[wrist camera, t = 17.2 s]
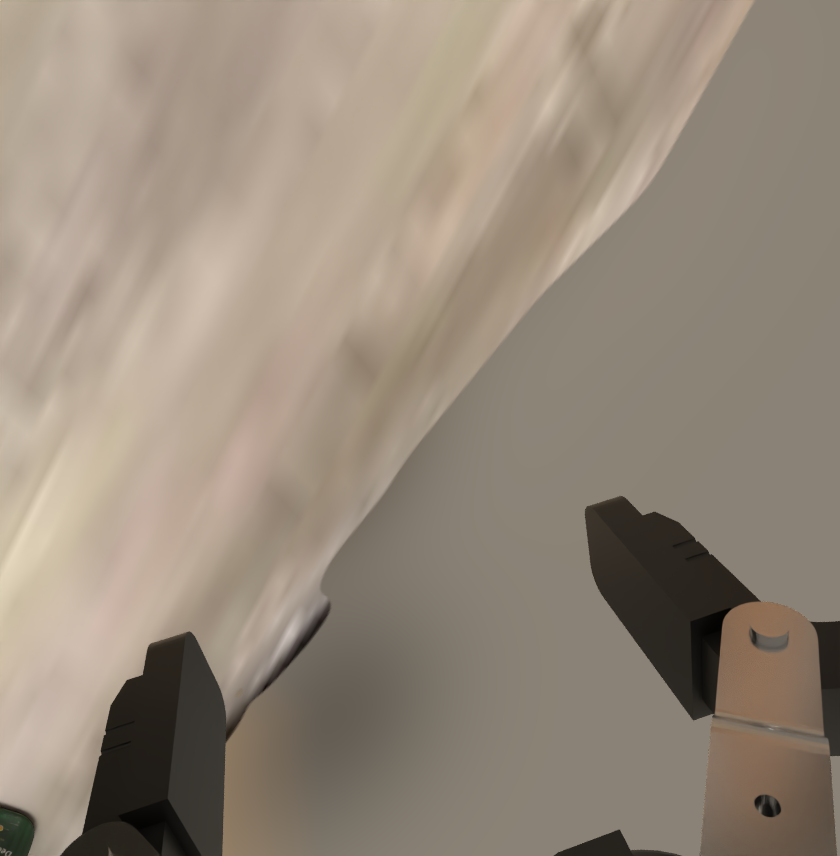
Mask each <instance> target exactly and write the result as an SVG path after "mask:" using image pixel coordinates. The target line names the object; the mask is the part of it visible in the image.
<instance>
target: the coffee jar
mask: <svg viewBox="0 0 840 856" xmlns="http://www.w3.org/2000/svg"><path fill="white" fill-rule="evenodd" d="M33 838H34V827H33V825H32V823H31V821H30V820H29V819H28V818H27V817H25V816H24V815H22V814H19V813H16V812H13V811H10V810H7V809H3V808H0V856H28V853H29V851H30V848H31V845H32V842H33Z"/></svg>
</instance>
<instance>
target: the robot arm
mask: <svg viewBox="0 0 840 856" xmlns="http://www.w3.org/2000/svg"><path fill="white" fill-rule="evenodd" d="M585 519H586V529H587V537H588V546H589V555H590V563H591V569H592V573H593V576H594V579H595V582H596V585H597V586H598V589H599V591H600V592H601V594H602V596H603V597H604V599H605V600H606V601H607V603H608V604H609V606H610V607H611V608H612V610H613V611H614V612H615V614H616V615H617V616H618V618H619V619H620V621H621V622H622V623H623V625H624V626H625V627H626V629H627V630H628V631H629V633H630V634H631V636H632V637H633V638H634V640H635V641H636V643H637V644H638V645H639V647H640V648H641V649H642V651H643V652H644V653H645V655H646V656H647V658H648V659H649V660H650V662H651V663H652V664H653V666H654V667H655V669H656V670H657V671H658V673H659V674H660V675H661V677H662V678H663V680H664V681H665V682H666V683H667V685H668V686H669V688H670V689H671V690H672V692H673V693H674V695H675V696H676V697H677V699H678V700H679V701H680V703H681V704H682V706H683V707H684V708H685V710H686V711H687V712H688V714H689V715H690V717H691V718H692V719H693V720H696V719H699V718H702V717H705V716H707V715H710V714H714V715H713V717H712V724H711V733H710V746H709V756H708V768H707V779H706V790H705V803H704V814H703V825H702V836H701V847H700V856H837V848H836V834H835V819H834V805H833V790H832V776H831V761H830V756H840V621H838V622H837V621H836V622H810V621H809V620H808V619H807V618H806V617H805V616H803V615H802V614H800V613H799V612H797V611H795V610H793V609H792V608H789V607H787V606H784V605H780V604H776V603H771V602H761V601H760V600H758V598H757V597H756V596H755V595H753V594H752V592H750V591H749V590H748V589H747V588H746V587H745V586H744V585H743V584H742V583H741V582H740V581H739V580H738V579H737V578H736V577H735V576H734V575H733V574H732V573H731V572H730V571H729V570H728V569H726V568H725V567H724V566H723V565H722V564H721V563H720V562H719V561H718V560H717V559H716V558H715V557H714V556H713V555H712V554H711V555H710V554H709V552H708V550H707V549H706V548H704V546H703V545H701V544H700V543H699V542H696V540H695V538H694V537H693V536H692V535H691V534H690V533H689V532H688V531H687V530H686V529H685V528H684V527H683V526H682V525H681V524H680V523H679V522H676V521H674V520H672V519H670V518H667V517H665V516H663V515H661V514H659V513H656V512H652V513H650V514H646V515H643V516H642V515H641V513H640V512H639V511H638V510H637V509H636V508H635V507H634V506H633V505H632V504H631V503H630V502H629V501H628V500H627V499H626V498H625V497H623V496H619V497H616V498H613V499H610V500H606V501H603V502H600V503H597V504H594V505H591V506H587V507H586V509H585ZM105 731H106V735H104V738H103V743H102V747H101V754H102V755H101V756H99V761H98V765H97V770H96V774H95V779H94V783H93V788H92V792H91V797H90V801H89V806H88V810H87V815H86V819H85V824H84V828H83V833H82V835H81V836H79V837H78V838H77V839H76V840H75V841H73V842H72V843H71V844H70V845H69V846H68V847H67V848H66V849H65V850H64V852H63V853H62V854H61V855H60V856H222V841H223V809H224V775H225V741H226V712H225V705H224V701H223V697H222V693H221V690H220V688H219V685H218V683H217V681H216V679H215V677H214V675H213V673H212V671H211V669H210V667H209V665H208V663H207V660H206V658H205V656H204V654H203V652H202V650H201V648H200V646H199V644H198V642H197V640H196V638H195V636H194V635H193V634H192V633H191V632H186V633H183V634H180V635H177V636H173V637H170V638H167V639H164V640H161V641H158V642H154V643H151V644H150V645H149V647H148V649H147V654H146V660H145V666H144V671H143V675H141V676H138V677H135V678H132V679H129V680H127V681H126V682H125V684H124V685H123V687H122V689H121V690H120V692H119V693H118V695H117V696H116V698H115V700H114V701H113V703H112V704H111V707H110V711H109V716H108V720H107V725H106V729H105ZM554 856H680V855H677V854H673V853H668V852H662V851H654V850H630V849H629V847H628V845H627V843H626V841H625V839H624V837H623V835H622V833H621V831H620V830H617V831H614V832H612V833H609V834H606V835H604V836H601V837H599V838H596V839H593V840H590V841H588V842H585V843H582V844H580V845H577V846H574V847H572V848H569V849H566V850H564V851H561V852H558V853H557V854H556V855H554Z"/></svg>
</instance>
